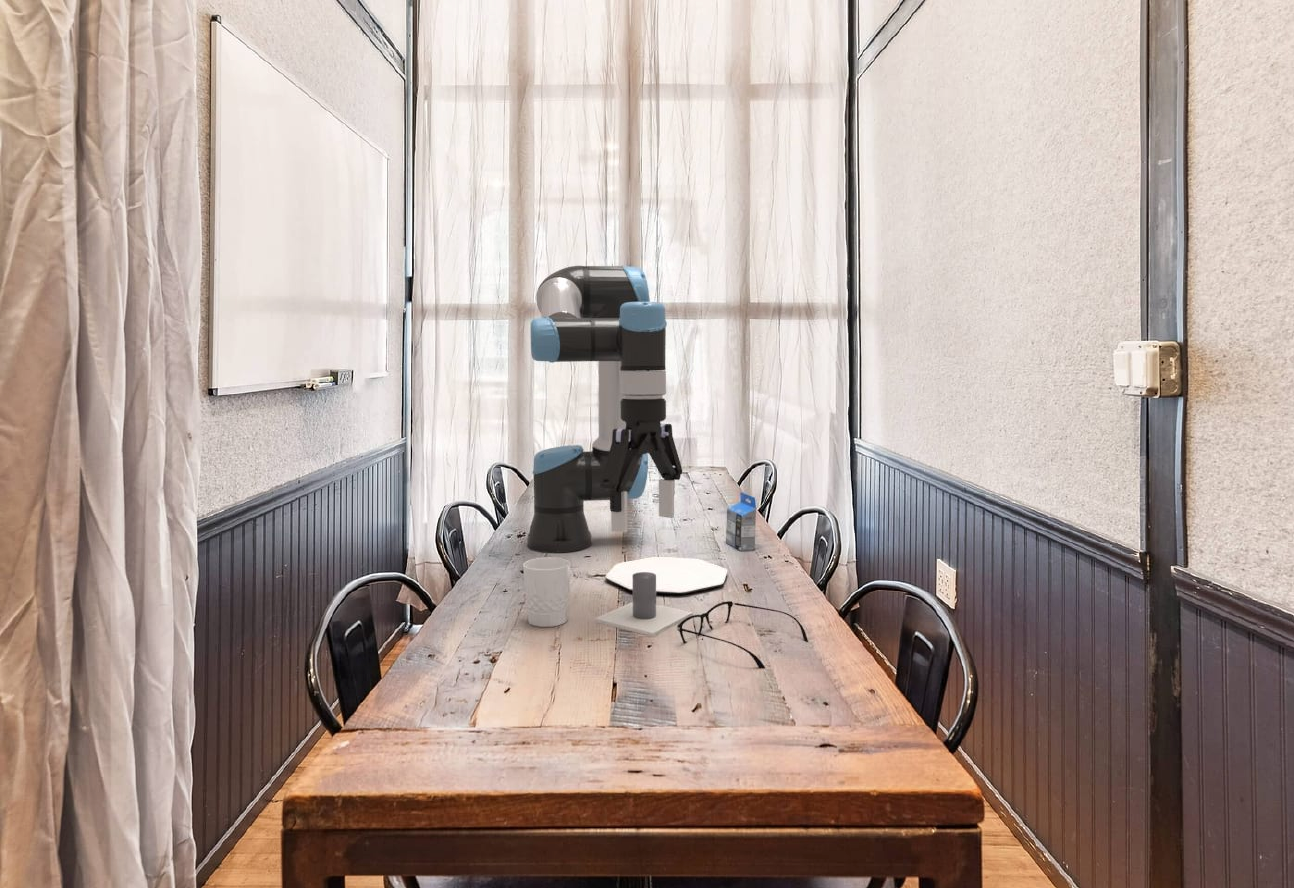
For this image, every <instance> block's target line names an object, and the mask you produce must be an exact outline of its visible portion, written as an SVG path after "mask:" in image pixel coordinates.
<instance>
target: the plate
mask: <svg viewBox="0 0 1294 888" xmlns="http://www.w3.org/2000/svg"><path fill="white" fill-rule="evenodd" d="M639 572H649V573H654V574H656V594H667V595H669V594H670V595H671V594H672V595H673V594H674V595H685V594H690V593H694V592H695V593H696V592H699V591H703V590H708V589H711V588H712V589H713V588H717V587H721V586H723V585H724V584H725V580H726V579H727V575H728V572H729V570H728V569H727V568H726V567H723V566H719V565H716V564H714V563H712V562H708V561H706V560H704V559H703V560H702V559H700V558H699V559H698V558H689V557H688V558H687V557H666V556H651V557H645V558H640V559H634V560H630V561H629V560H628V561H623V562H618V563H615V564H614V566H613V567H612V568H611V569H610V570H609V571H608V572H607V574H606V575H605V576H604V579H606V581H608V582H611V583H613V584H615V585H616V586H619V587H621V588H624V589H625V590H627V591H630V592H633V577H632V576H633V574H635V573H639Z"/></svg>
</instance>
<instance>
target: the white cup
mask: <svg viewBox="0 0 1294 888" xmlns="http://www.w3.org/2000/svg"><path fill="white" fill-rule="evenodd" d="M522 567H523V581H524V582H523V583H524V585H523V586H524V592H525V593H524V594H525V595H524V596H525V597H524V598H525V605H526V610H527V611H526V612H527V621H528V624H530V625H532V626H534V627H538V628H539V627H540V628H552V627H553V628H554V627H558V626H561V625H563V624H565V623H567V621H568V619H569V602H570V593H571V592H570V591H571V589H570V585H571V561H570V560H568V559H566V558H562V557H554V556H550V557H549V556H547V557H536V558H531V559H529V560H526V561H525V562H524V563H523V564H522Z"/></svg>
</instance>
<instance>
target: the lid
mask: <svg viewBox="0 0 1294 888" xmlns="http://www.w3.org/2000/svg"><path fill="white" fill-rule="evenodd" d="M632 577H633V591H632V601H631V602H629V603H626V604H624V605H622V606H620V607H618V608H616V609H613V610H611V611H608V612H606V613H604V614H602V615H600V616H599V615H598V616H597V617H595V618H594V623H596V624H597V623H598V624H601V625H605V626H608V627H613V628H617V629H621V630H624V631H625V630H626V631H629V632H633V633H637V634H641V635H644V636H649V637H652V638H653V637H655V636H657V635H659V634H661V633H663V632H665V631H667V630H669V629H670V628H673V627H675V626H677V625H678V624H680V623H681V622H682V621H683V620H685V619H686V618H688V617H690V616H693V615H694V612H693V611H687V610H685V609H684V610H682V609H679V608H674V607H671V606H666V605H661V604H657V593H656V574H654V573H649V572H639V573H635V574H633V576H632Z"/></svg>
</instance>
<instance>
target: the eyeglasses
mask: <svg viewBox="0 0 1294 888" xmlns="http://www.w3.org/2000/svg"><path fill="white" fill-rule="evenodd" d="M723 605H727V610H728V611H727V616H726V621H725V622H724V624H727V623H729V620H730V616H731V612H732V611H731V610H732V607H733V606H740V607H744V608H753V609H759V610H766V611H772V612H775V613H776V612H777V613H780V614H784V615H786V616H789V617H790V618H792V619H793V620H794V621H795V622H796V623H797V624H798V626H799V627H800V631H801V635H802V639H803V641H804V642H806V643H809V640H808V637H807V633H806V630H805V629H804V627H803V626H802V624H801V622H800V621H799V620H798V619H797V618H796V617H794V616H793V615H791V614H789V613H787V612H785V611H780V610H777V609H776V610H775V609H772V608H768V607H767V608H766V607H760V606H756V605H750V604H743V603H739V602H733V601H732V600H731V601H730V600H729V601H728V600H727V601H722V602H719V603H716V604H715V605H714V606H713V607H710V608H709V609H708V610H707V611H706V612H704V613H701V614H693V616H690V617H688V618H686V619H685V620H683V621H682V622H680V623H678V624H677V625H676V629H677V631H678V632H679V634H680V638H681V640H682V642H683V643H684V644H686V643H688V641H686V638H685V637H684V634H683V632H685V633H689V634H693V635H696V636H698V637H700V636H701V637H706V638H708V639H713V640H717V641H720V642H724V643H728V644H730V645H733V646H735V647H737V648H739V649H741V650H743V651H744V652H746V653H748V654H749V656H751V658H752V659H753V660H754V662H755V664H756V665H757V668H759V669H766V667H765V664H763V662H762V661H761V660H760V658H759V657H758V656H757V655H756V654H754V653H753V652H751V651H749V650H748V649H746V648H745V647H742V646H740V645H739V644H737V643H734V642H732V641H731V642H730V641H727V640H724V639H721V638H717V637H714V636H710V635H707V634H704V633H702V630H703V629H705V625H706V623H705V622H704V618H705V619H706V622H707V625H708V627H709V629H710V630H714V628H713V626H712V623H711V620H710V618H709V615H710V613H711V612H713V611H714V610H715V609H716V608H718V607H720V606H723ZM695 618H700V626H699V631H698V632H696V631H693V630H689V629H685V628H683V625H684V624H686V623H687V622H688V621H690V620H691V619H695Z"/></svg>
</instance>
